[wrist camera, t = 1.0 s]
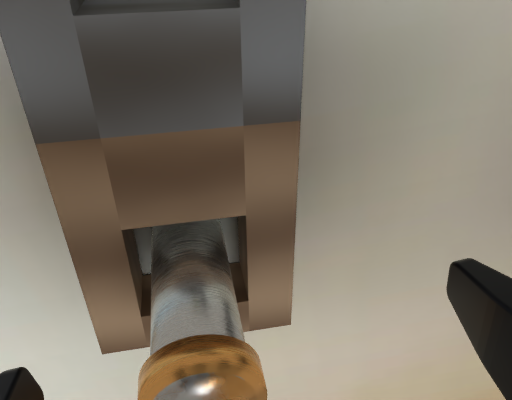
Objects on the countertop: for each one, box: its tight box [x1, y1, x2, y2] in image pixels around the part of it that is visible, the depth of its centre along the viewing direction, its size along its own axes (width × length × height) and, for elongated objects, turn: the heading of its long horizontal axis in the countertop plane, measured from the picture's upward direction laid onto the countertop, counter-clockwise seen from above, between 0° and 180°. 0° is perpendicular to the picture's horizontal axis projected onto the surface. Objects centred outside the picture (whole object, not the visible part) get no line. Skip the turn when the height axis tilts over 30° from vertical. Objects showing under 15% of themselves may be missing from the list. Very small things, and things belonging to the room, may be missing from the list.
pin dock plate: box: [0, 0, 306, 354], centre depth 18 cm, size 24×10×3 cm, turn 1°
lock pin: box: [138, 219, 267, 400], centre depth 19 cm, size 4×4×10 cm
